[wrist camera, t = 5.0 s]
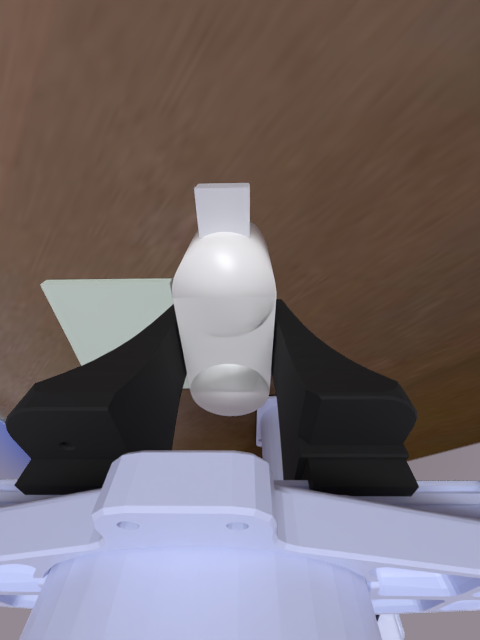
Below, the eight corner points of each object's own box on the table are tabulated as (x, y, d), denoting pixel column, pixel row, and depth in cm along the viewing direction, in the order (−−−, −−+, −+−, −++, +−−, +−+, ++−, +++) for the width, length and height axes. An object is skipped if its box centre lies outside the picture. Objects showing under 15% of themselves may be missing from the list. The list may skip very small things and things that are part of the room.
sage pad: (191, 382, 27) (189, 388, 27) (96, 382, 28) (93, 388, 27) (172, 278, 21) (169, 283, 20) (46, 279, 21) (40, 284, 20)
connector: (262, 359, 16) (267, 416, 13) (205, 359, 16) (195, 416, 13) (271, 176, 10) (283, 195, 7) (181, 178, 11) (153, 197, 7)
